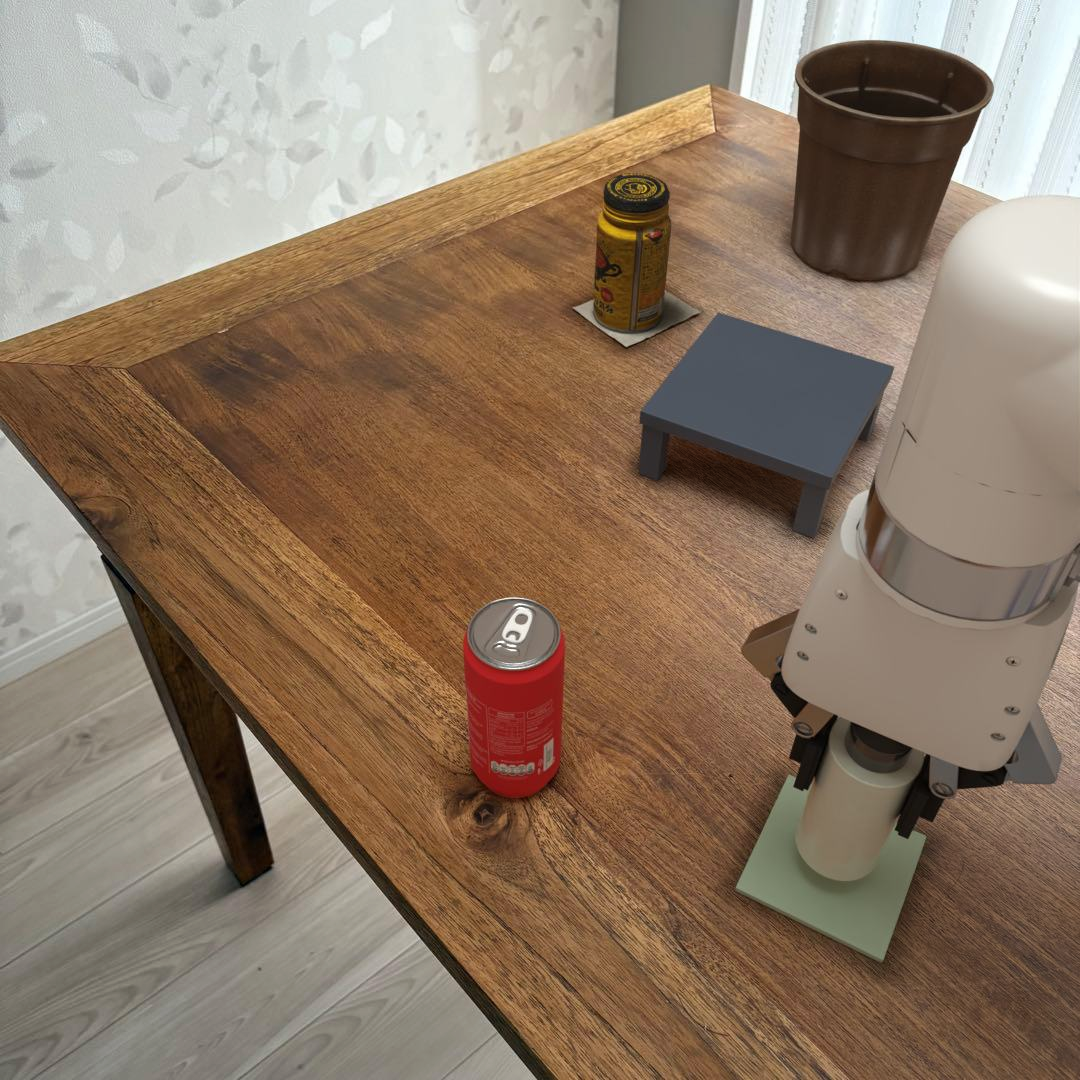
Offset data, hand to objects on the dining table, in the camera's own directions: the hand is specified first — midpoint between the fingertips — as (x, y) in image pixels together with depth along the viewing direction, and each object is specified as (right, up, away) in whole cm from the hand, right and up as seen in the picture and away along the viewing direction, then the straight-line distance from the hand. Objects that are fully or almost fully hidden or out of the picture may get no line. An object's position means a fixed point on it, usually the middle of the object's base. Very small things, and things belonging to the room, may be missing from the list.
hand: (859, 788), depth 55 cm
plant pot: (+14, +40, +50) cm, 65 cm away
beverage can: (-17, -1, +10) cm, 20 cm away
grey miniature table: (+1, +19, +29) cm, 35 cm away
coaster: (0, -5, +5) cm, 8 cm away
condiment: (-7, +32, +42) cm, 53 cm away
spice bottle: (0, -4, +4) cm, 5 cm away
